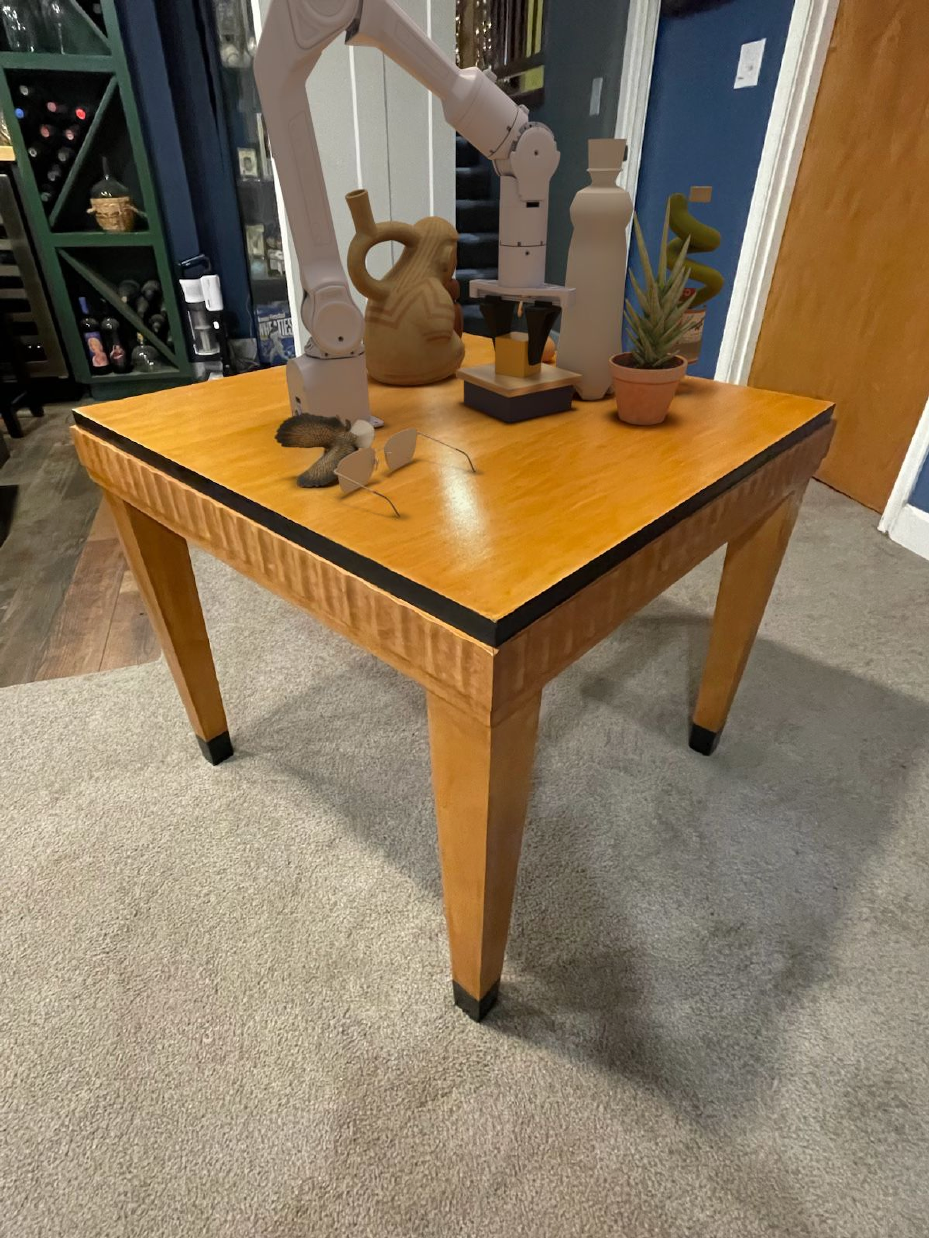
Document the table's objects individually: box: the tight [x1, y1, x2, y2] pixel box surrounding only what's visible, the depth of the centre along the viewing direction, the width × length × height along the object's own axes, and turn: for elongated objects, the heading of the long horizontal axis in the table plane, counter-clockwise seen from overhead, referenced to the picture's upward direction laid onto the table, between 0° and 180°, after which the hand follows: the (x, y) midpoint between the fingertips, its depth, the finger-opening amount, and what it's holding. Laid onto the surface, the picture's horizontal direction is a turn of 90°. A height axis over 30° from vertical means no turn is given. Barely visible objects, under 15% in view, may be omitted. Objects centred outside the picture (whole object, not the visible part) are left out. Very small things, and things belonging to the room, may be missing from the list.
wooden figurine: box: [444, 277, 464, 339], centre depth 120 cm, size 7×6×15 cm
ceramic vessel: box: [344, 188, 466, 386], centre depth 101 cm, size 17×20×25 cm
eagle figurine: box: [273, 413, 376, 488], centre depth 73 cm, size 8×7×9 cm
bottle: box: [555, 138, 635, 401], centre depth 91 cm, size 9×9×30 cm
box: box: [455, 362, 582, 424], centre depth 92 cm, size 12×12×4 cm
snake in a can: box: [665, 186, 725, 366], centre depth 94 cm, size 12×10×25 cm
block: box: [494, 331, 543, 378], centre depth 90 cm, size 4×4×4 cm
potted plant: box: [609, 195, 696, 426], centre depth 82 cm, size 10×10×25 cm
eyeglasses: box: [334, 427, 477, 517], centre depth 70 cm, size 14×8×4 cm, turn 146°
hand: (518, 361), depth 90 cm, fingers closed on block, 4 cm apart
